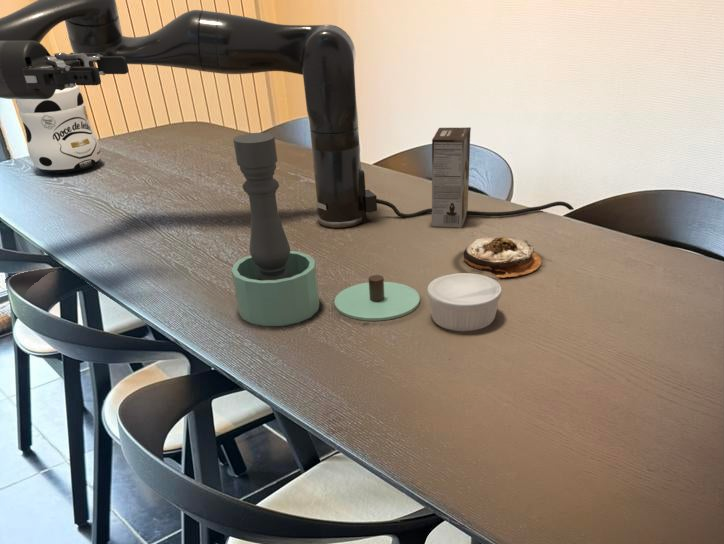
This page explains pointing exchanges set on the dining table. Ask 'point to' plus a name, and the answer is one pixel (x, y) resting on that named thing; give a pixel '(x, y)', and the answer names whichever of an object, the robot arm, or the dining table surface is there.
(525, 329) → the dining table surface
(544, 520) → the dining table surface
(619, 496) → the dining table surface
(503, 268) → the cream topped cake
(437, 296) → the ramekin
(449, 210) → the coffee box
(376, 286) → the pot lid
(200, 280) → the dining table surface
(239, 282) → the pot
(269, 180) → the candle holder
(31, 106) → the doce de leite jar
